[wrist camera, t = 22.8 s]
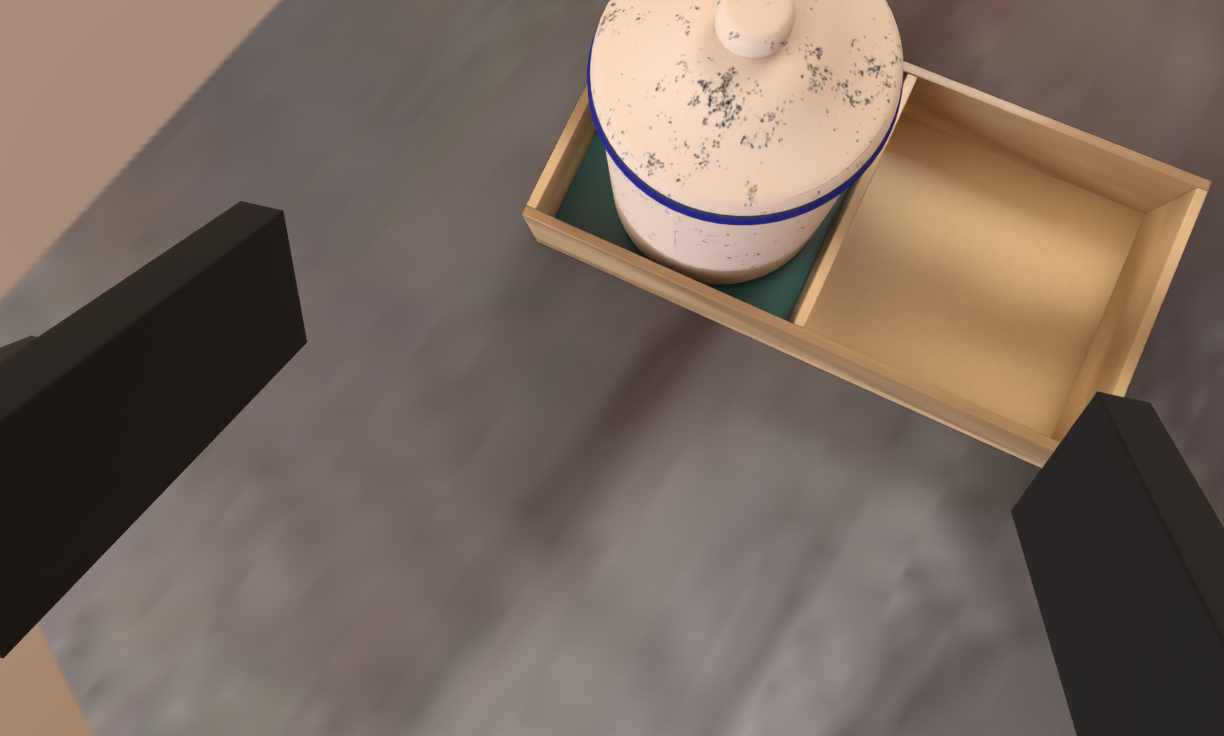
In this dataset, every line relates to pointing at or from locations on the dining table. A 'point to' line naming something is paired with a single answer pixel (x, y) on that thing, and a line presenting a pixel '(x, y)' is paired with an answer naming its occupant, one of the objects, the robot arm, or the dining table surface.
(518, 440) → the dining table surface
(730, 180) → the teacup with lid
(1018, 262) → the organizer
